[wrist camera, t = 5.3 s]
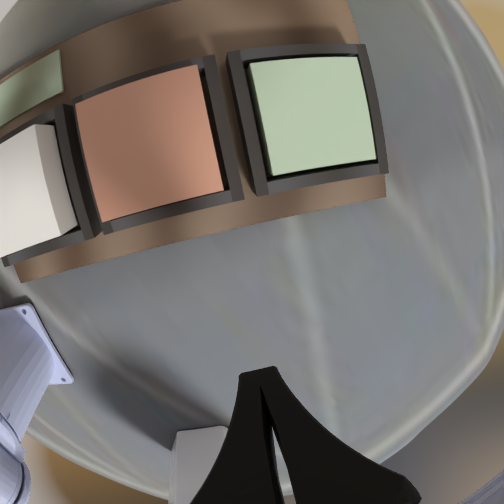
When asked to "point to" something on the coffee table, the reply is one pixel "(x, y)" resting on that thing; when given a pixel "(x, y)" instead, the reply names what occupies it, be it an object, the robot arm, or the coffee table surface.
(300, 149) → the key sage
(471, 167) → the coffee table surface
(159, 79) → the key terracotta
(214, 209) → the console
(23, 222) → the key white
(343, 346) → the coffee table surface
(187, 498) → the jar
